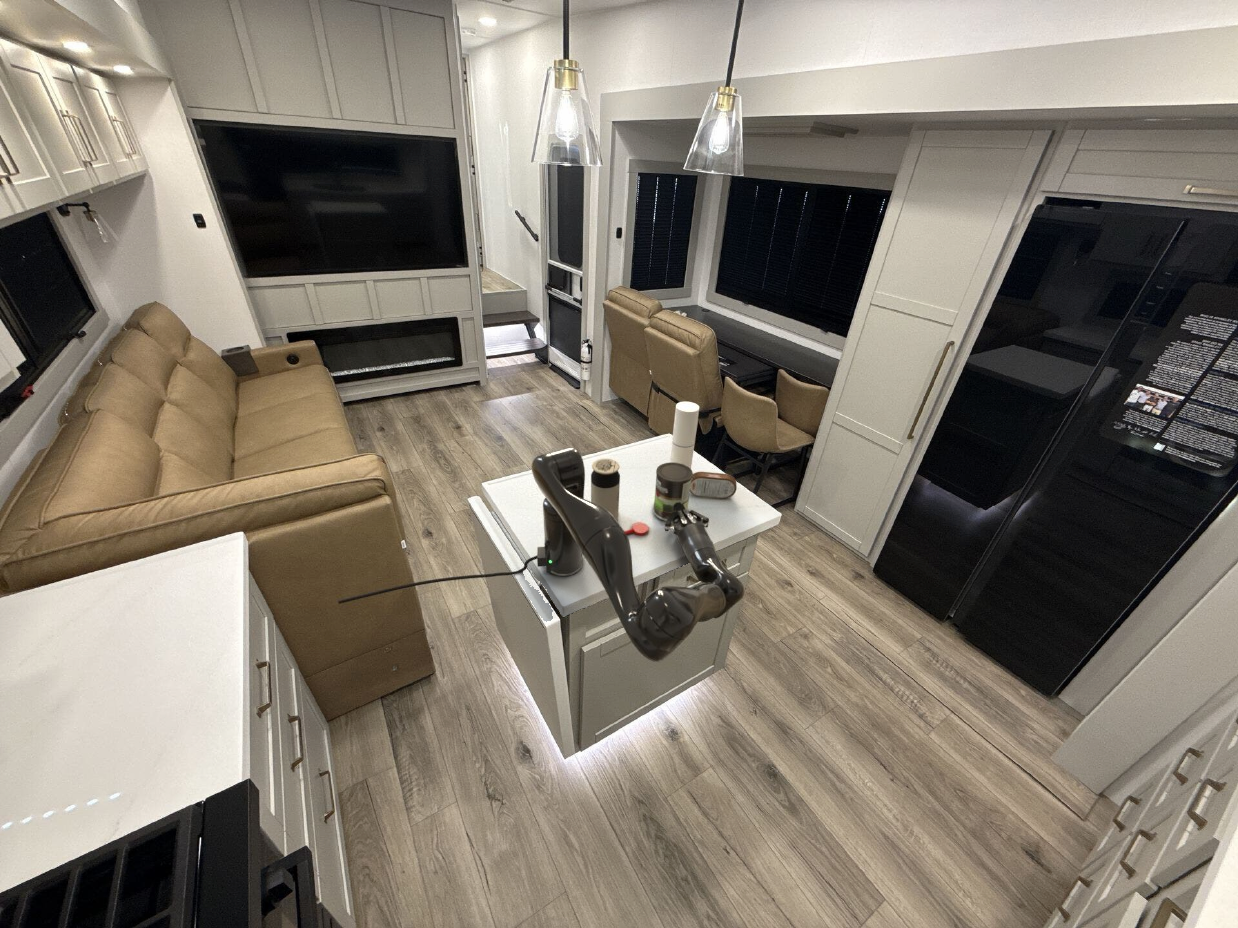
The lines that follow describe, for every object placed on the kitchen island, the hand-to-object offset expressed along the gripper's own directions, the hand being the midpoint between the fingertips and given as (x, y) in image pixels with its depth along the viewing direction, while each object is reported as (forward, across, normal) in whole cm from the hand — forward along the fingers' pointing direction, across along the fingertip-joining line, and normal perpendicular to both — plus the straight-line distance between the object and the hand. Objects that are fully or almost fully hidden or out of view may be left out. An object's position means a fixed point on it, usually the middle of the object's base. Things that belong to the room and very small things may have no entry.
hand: (677, 504), depth 137 cm
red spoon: (-3, -16, -6) cm, 17 cm away
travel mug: (+5, -20, -6) cm, 22 cm away
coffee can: (+4, 0, -6) cm, 8 cm away
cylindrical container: (+24, +9, -6) cm, 26 cm away
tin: (+10, +14, -6) cm, 19 cm away
